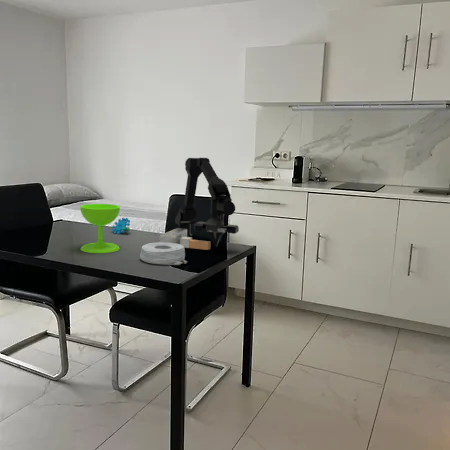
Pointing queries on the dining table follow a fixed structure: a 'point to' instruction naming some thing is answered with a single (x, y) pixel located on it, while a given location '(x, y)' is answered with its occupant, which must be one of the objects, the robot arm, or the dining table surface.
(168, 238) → the grey long block
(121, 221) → the blue lumpy cluster
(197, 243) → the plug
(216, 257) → the dining table surface
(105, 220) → the wineglass
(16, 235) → the dining table surface
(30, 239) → the dining table surface
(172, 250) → the cable
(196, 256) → the dining table surface
